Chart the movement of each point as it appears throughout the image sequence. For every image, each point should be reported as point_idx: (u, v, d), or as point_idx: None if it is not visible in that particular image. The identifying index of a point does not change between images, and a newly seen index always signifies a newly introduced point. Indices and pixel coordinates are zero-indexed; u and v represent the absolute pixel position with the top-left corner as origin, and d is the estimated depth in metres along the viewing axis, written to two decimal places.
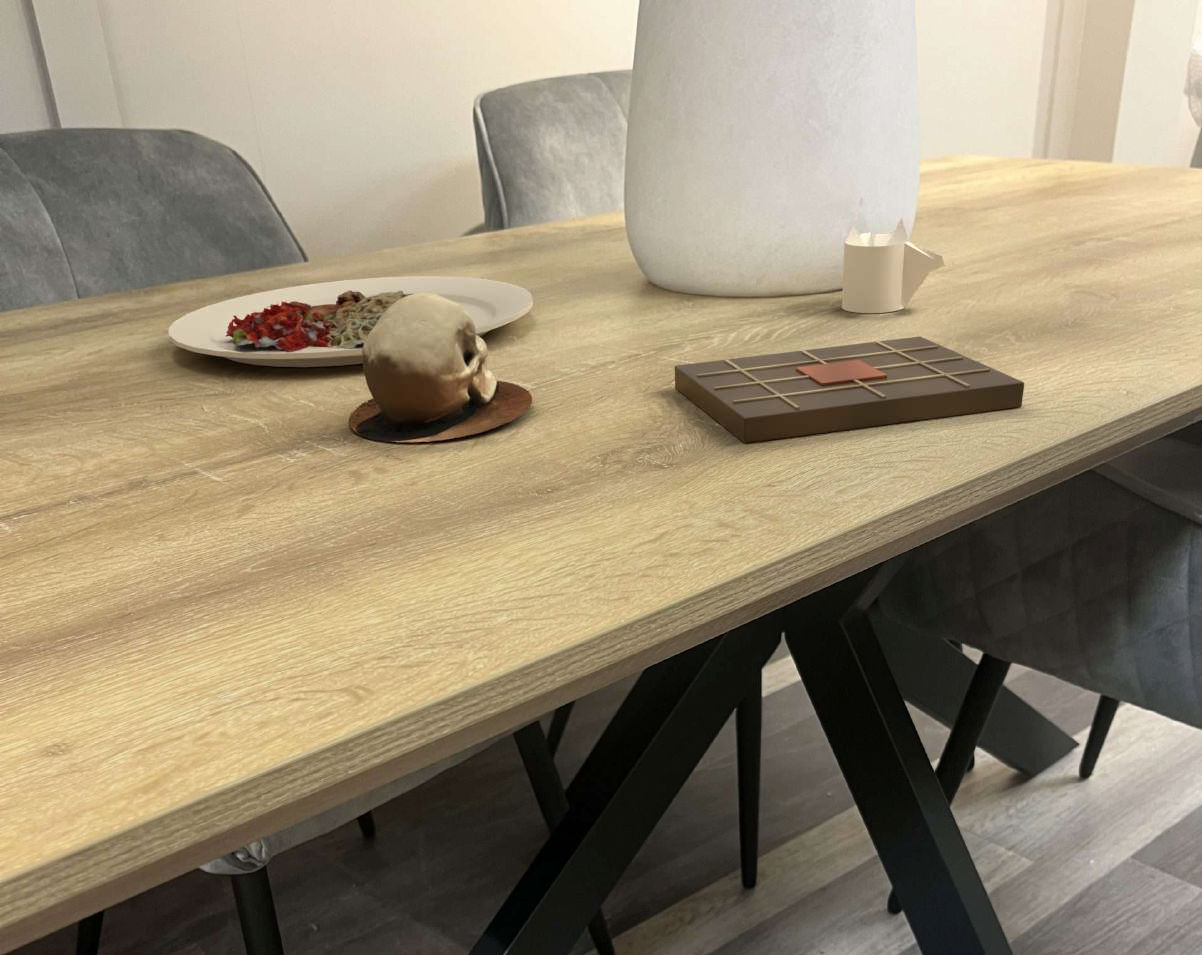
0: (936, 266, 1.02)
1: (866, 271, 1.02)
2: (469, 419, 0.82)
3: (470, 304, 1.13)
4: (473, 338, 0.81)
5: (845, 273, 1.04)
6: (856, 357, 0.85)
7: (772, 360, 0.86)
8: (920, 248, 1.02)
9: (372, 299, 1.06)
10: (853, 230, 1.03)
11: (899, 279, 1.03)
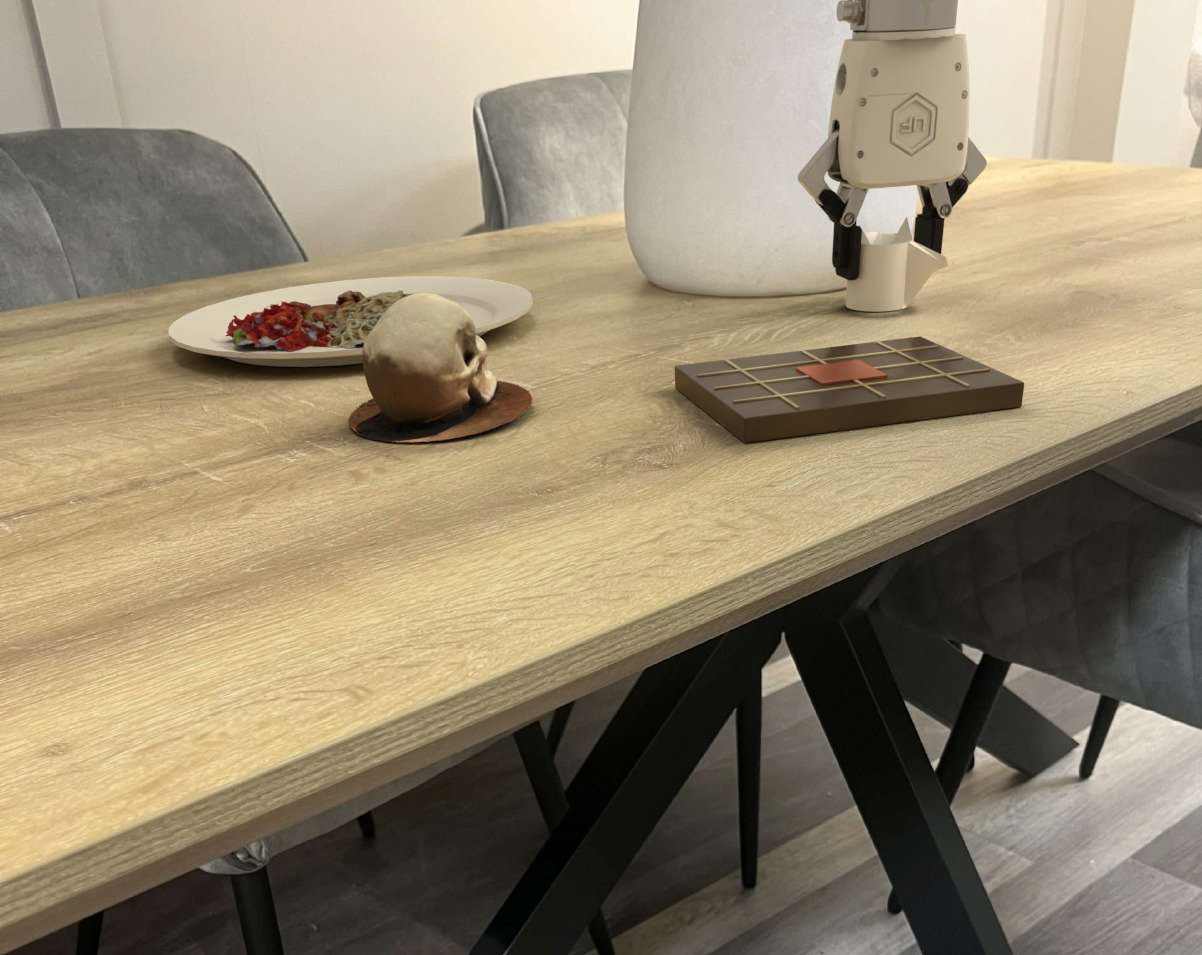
0: (939, 266, 1.02)
1: (869, 269, 1.02)
2: (469, 419, 0.82)
3: (470, 304, 1.13)
4: (473, 338, 0.81)
5: None
6: (856, 357, 0.85)
7: (772, 360, 0.86)
8: (924, 248, 1.02)
9: (372, 299, 1.06)
10: None
11: (902, 278, 1.03)
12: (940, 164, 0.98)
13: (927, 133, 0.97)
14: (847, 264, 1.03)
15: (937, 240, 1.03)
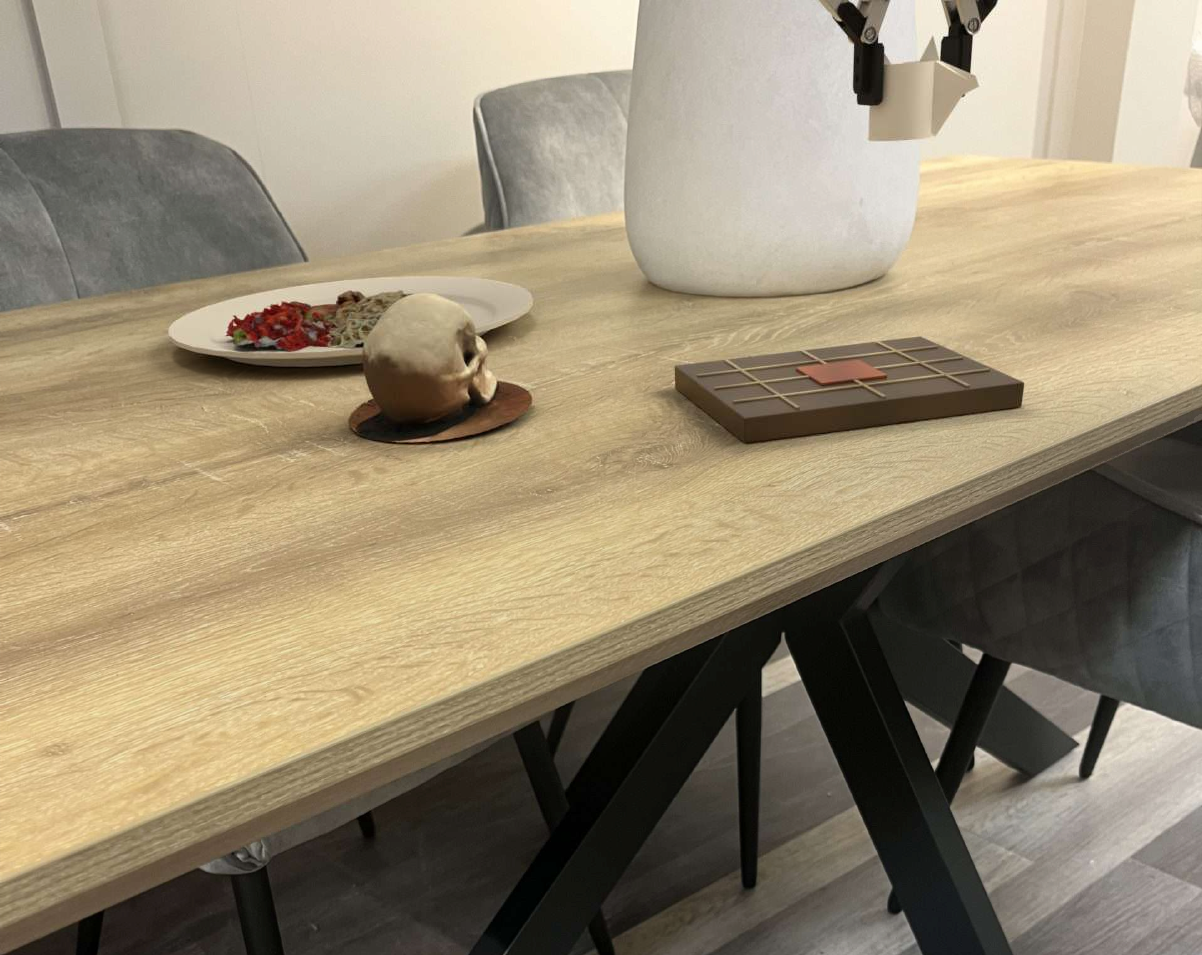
0: (969, 87, 0.95)
1: (892, 92, 0.95)
2: (469, 419, 0.82)
3: (470, 304, 1.13)
4: (473, 338, 0.81)
5: None
6: (856, 357, 0.85)
7: (772, 360, 0.86)
8: (953, 68, 0.94)
9: (372, 299, 1.06)
10: None
11: (929, 102, 0.95)
12: None
13: None
14: (869, 88, 0.95)
15: (965, 59, 0.95)
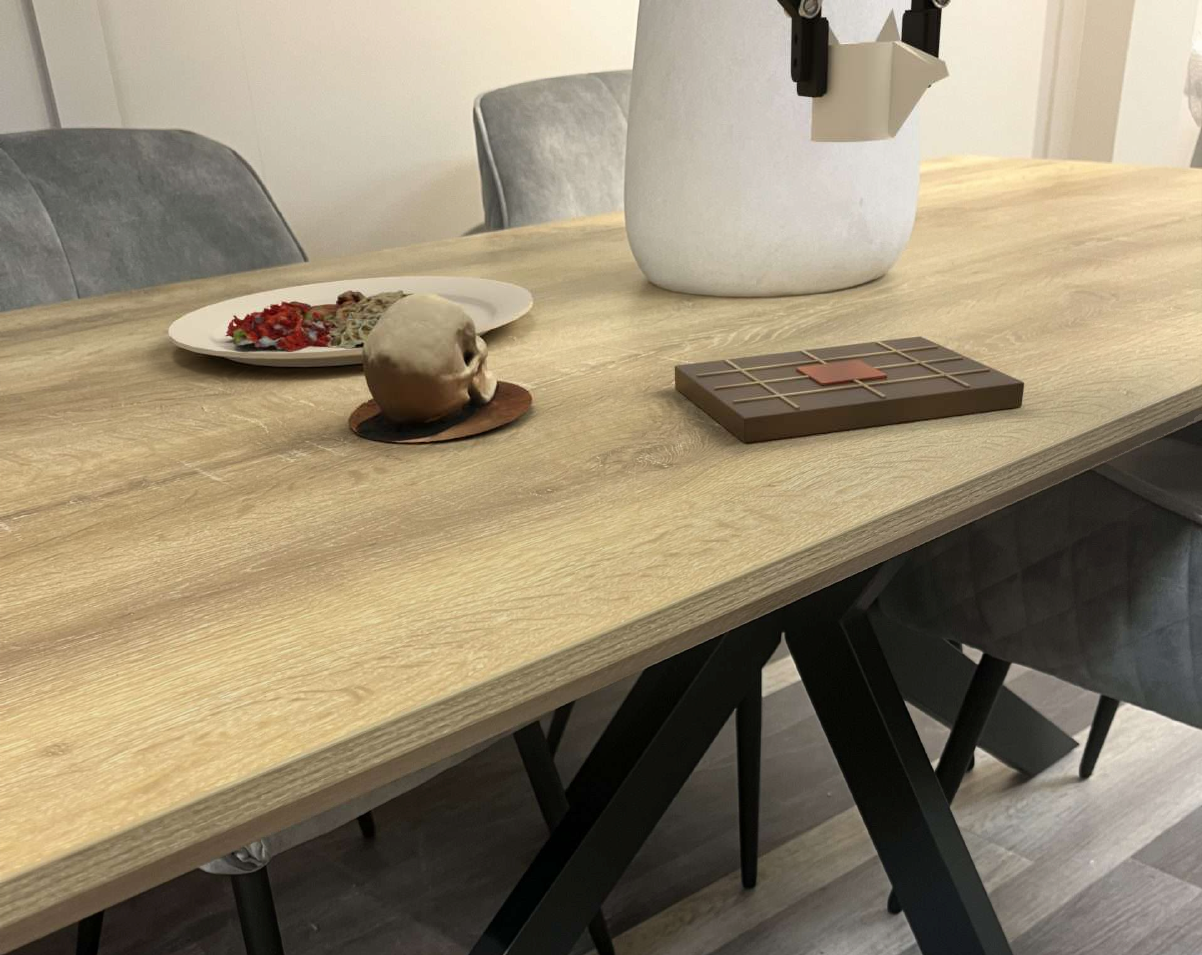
0: (937, 76, 0.74)
1: (839, 81, 0.74)
2: (469, 419, 0.82)
3: (470, 304, 1.13)
4: (473, 338, 0.81)
5: None
6: (856, 357, 0.85)
7: (772, 360, 0.86)
8: (916, 51, 0.74)
9: (372, 299, 1.06)
10: None
11: (885, 94, 0.75)
12: None
13: None
14: (811, 75, 0.75)
15: (932, 40, 0.75)
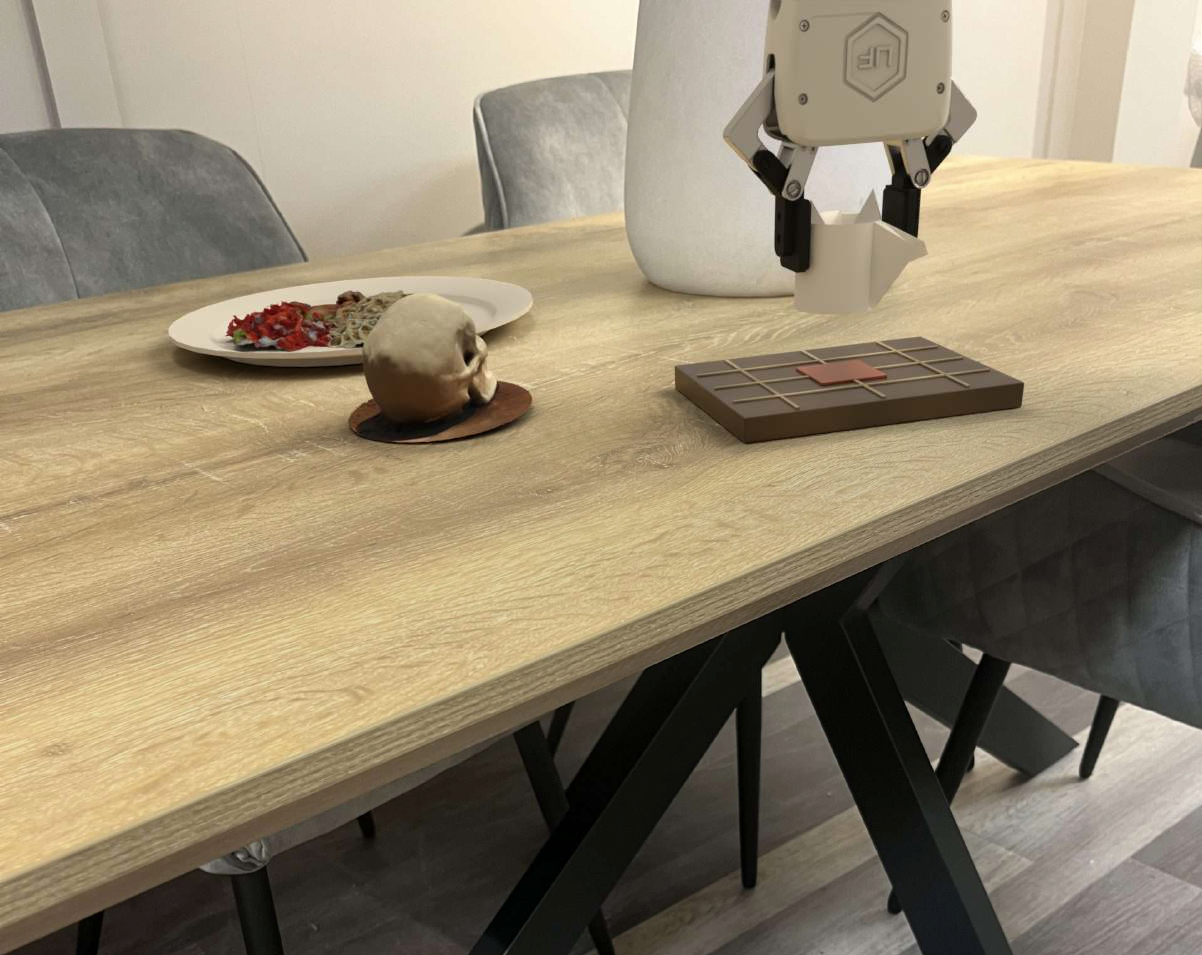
0: (916, 254, 0.76)
1: (821, 258, 0.76)
2: (469, 419, 0.82)
3: (470, 304, 1.13)
4: (473, 338, 0.81)
5: None
6: (856, 357, 0.85)
7: (772, 360, 0.86)
8: (896, 230, 0.76)
9: (372, 299, 1.06)
10: None
11: (866, 270, 0.77)
12: (914, 113, 0.73)
13: (895, 69, 0.71)
14: (794, 251, 0.77)
15: (911, 218, 0.77)
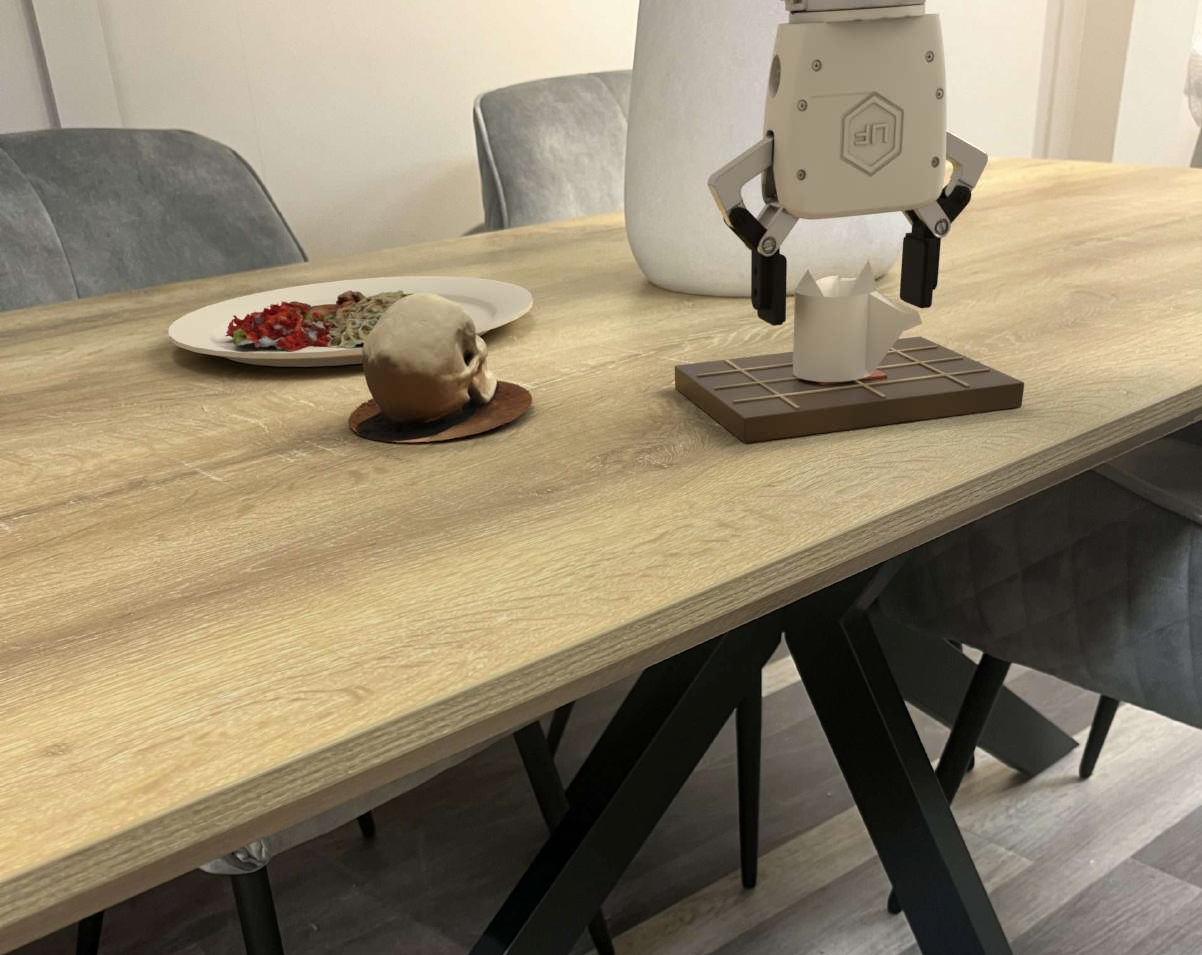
0: (911, 323, 0.78)
1: (818, 328, 0.79)
2: (469, 419, 0.82)
3: (470, 304, 1.13)
4: (473, 338, 0.81)
5: (794, 329, 0.80)
6: None
7: (772, 360, 0.86)
8: (891, 300, 0.78)
9: (372, 299, 1.06)
10: (806, 274, 0.80)
11: (862, 339, 0.79)
12: (909, 186, 0.75)
13: (891, 145, 0.73)
14: (770, 304, 0.78)
15: (932, 266, 0.78)
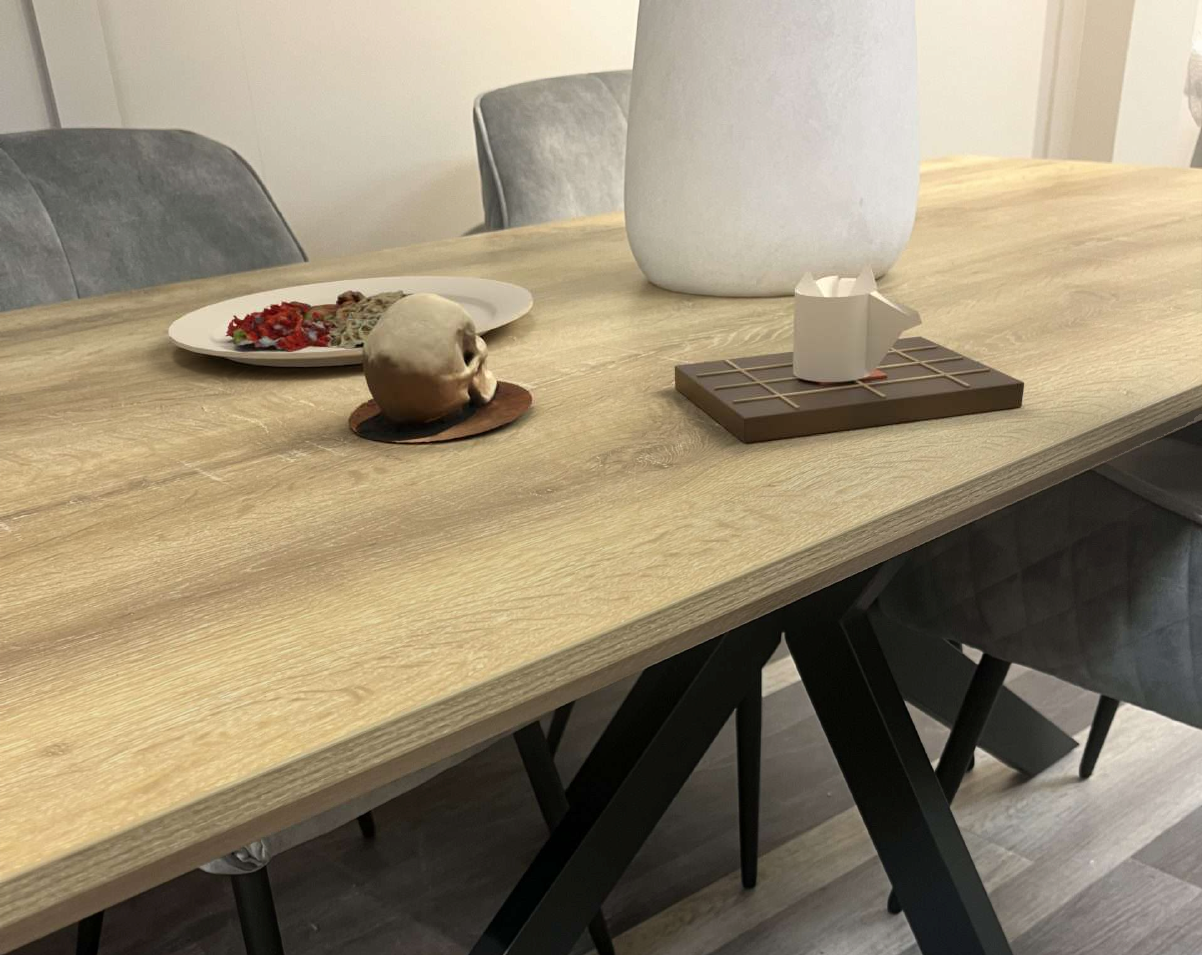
0: (911, 323, 0.78)
1: (818, 328, 0.79)
2: (469, 419, 0.82)
3: (470, 304, 1.13)
4: (473, 338, 0.81)
5: (794, 329, 0.80)
6: None
7: (772, 360, 0.86)
8: (891, 300, 0.78)
9: (372, 299, 1.06)
10: (806, 274, 0.80)
11: (862, 339, 0.79)
12: None
13: None
14: None
15: None
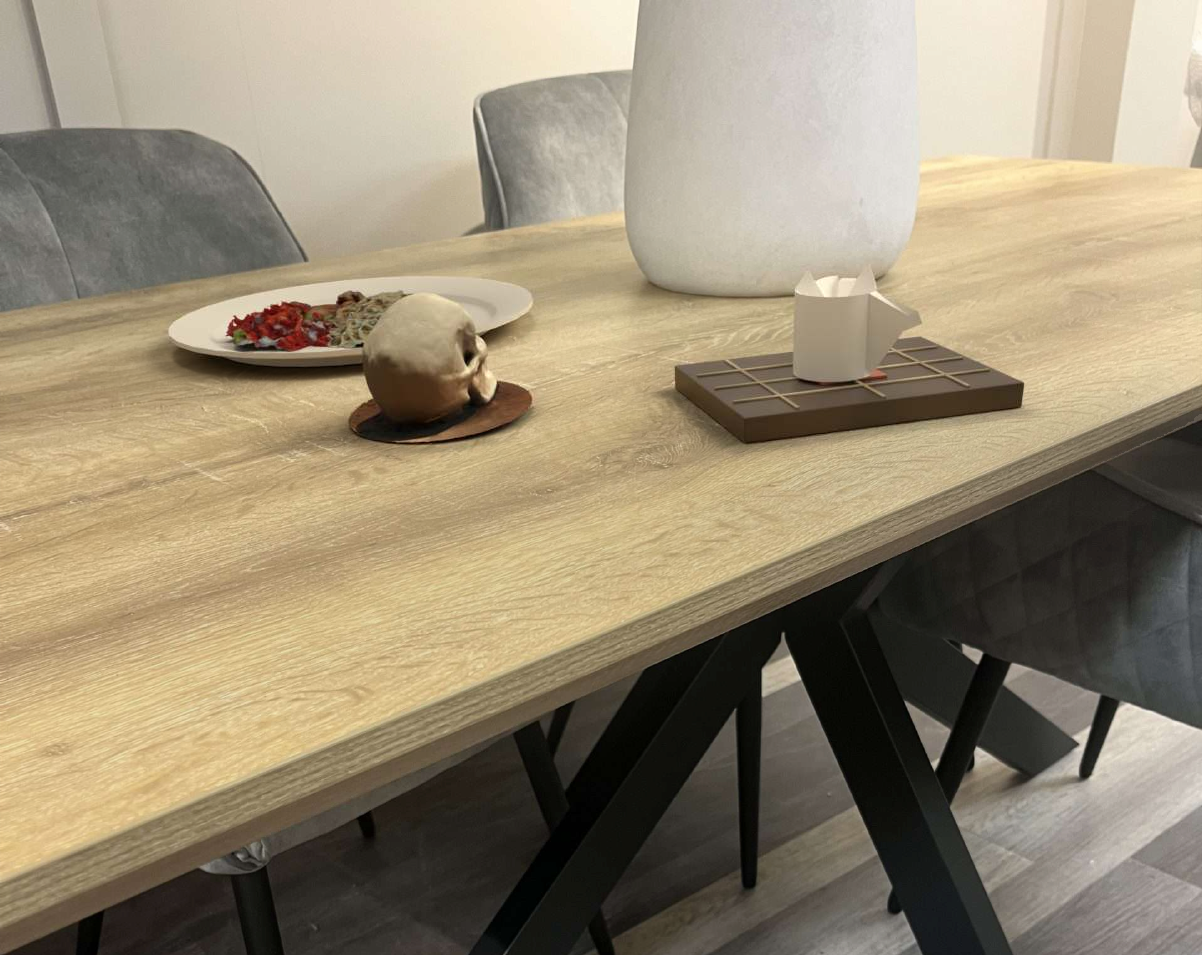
0: (911, 323, 0.78)
1: (818, 328, 0.79)
2: (469, 419, 0.82)
3: (470, 304, 1.13)
4: (473, 338, 0.81)
5: (794, 329, 0.80)
6: None
7: (772, 360, 0.86)
8: (891, 300, 0.78)
9: (372, 299, 1.06)
10: (806, 274, 0.80)
11: (862, 339, 0.79)
12: None
13: None
14: None
15: None
